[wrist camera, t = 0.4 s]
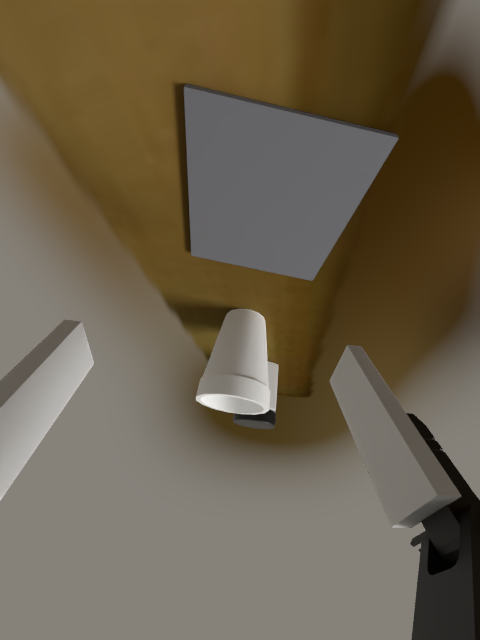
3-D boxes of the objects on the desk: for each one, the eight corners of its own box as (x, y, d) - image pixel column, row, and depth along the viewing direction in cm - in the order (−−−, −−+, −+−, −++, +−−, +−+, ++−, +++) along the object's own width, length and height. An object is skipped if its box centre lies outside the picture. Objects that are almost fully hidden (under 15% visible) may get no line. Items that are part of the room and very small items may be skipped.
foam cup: (219, 332, 42) (202, 408, 35) (211, 299, 34) (187, 389, 27) (273, 337, 41) (267, 417, 34) (278, 305, 33) (271, 400, 26)
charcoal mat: (186, 83, 15) (183, 86, 15) (396, 134, 16) (398, 137, 15) (192, 251, 27) (191, 255, 27) (312, 277, 27) (312, 280, 27)
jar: (252, 374, 57) (245, 428, 51) (232, 360, 52) (222, 418, 45) (286, 371, 52) (284, 430, 46) (269, 355, 47) (263, 420, 40)
